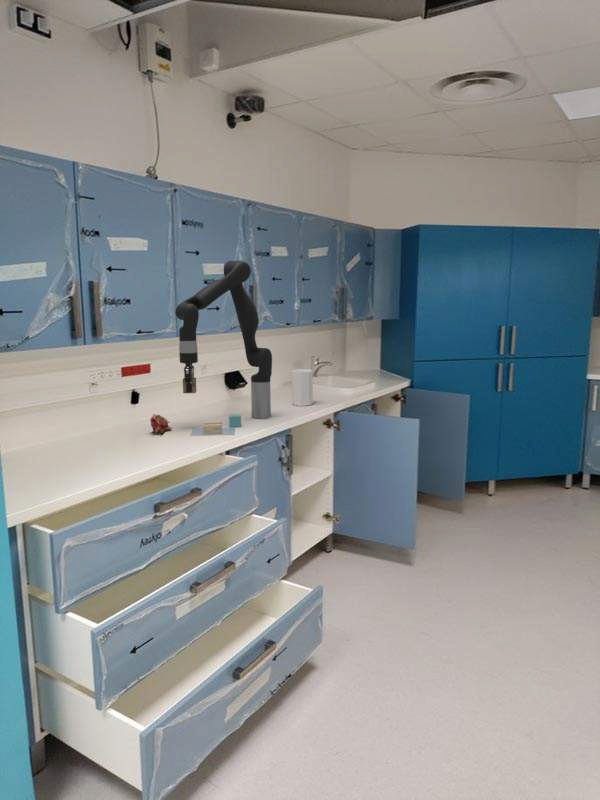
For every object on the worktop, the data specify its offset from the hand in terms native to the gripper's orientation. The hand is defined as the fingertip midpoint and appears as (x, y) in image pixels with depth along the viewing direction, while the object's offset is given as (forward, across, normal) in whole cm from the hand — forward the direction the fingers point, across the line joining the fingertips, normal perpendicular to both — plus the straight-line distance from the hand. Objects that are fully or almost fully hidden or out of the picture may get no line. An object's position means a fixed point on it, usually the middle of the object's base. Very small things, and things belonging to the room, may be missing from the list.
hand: (189, 391), depth 246 cm
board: (+17, -8, -10) cm, 21 cm away
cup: (+18, +60, -52) cm, 82 cm away
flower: (+17, -3, +12) cm, 22 cm away
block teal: (+17, +2, -19) cm, 26 cm away
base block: (+16, -10, -10) cm, 21 cm away
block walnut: (0, 0, 0) cm, 0 cm away
